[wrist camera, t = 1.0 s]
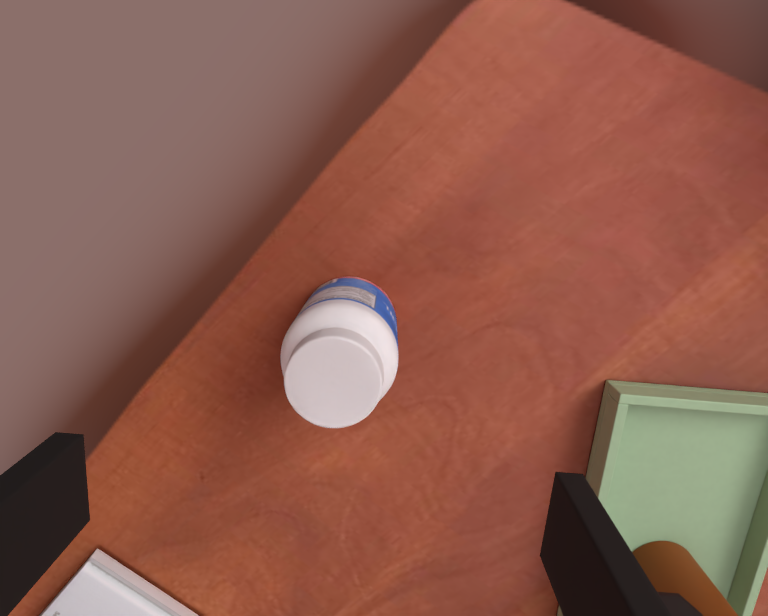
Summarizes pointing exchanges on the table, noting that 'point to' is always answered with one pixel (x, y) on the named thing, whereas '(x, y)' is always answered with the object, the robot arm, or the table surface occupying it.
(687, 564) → the bottle mid
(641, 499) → the tray
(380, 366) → the pill bottle
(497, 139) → the table surface
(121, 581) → the hard drive
